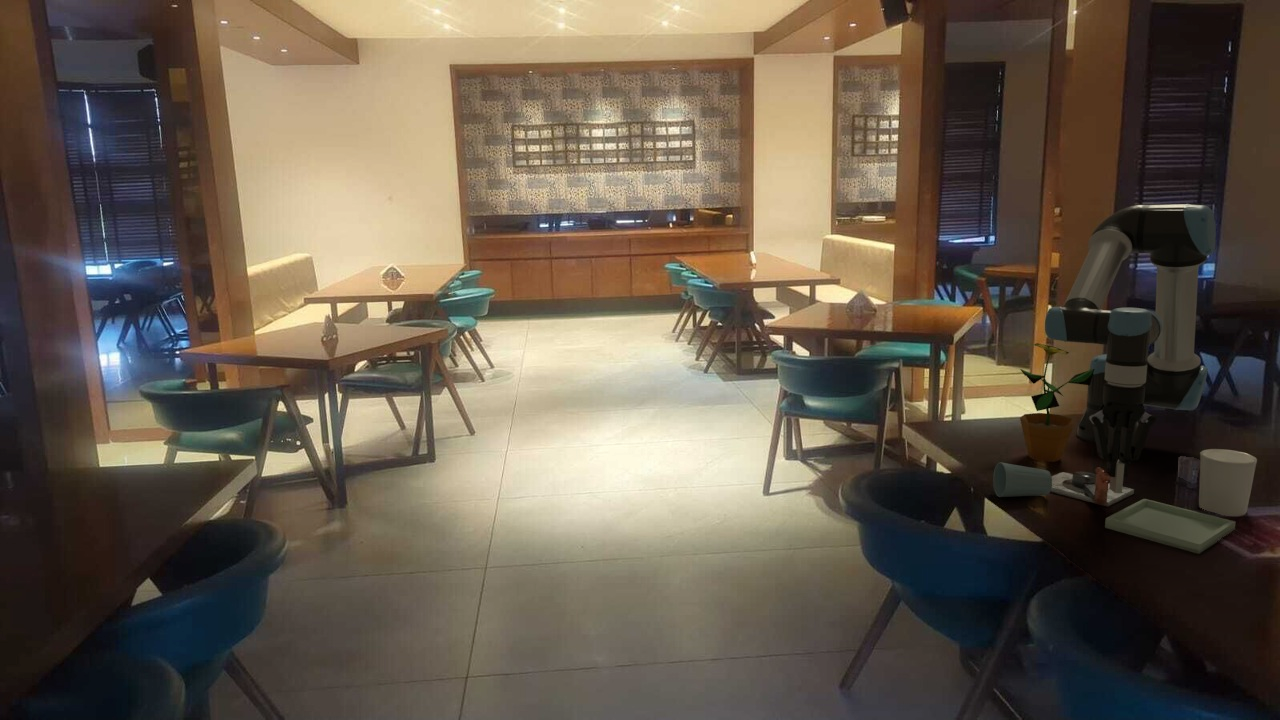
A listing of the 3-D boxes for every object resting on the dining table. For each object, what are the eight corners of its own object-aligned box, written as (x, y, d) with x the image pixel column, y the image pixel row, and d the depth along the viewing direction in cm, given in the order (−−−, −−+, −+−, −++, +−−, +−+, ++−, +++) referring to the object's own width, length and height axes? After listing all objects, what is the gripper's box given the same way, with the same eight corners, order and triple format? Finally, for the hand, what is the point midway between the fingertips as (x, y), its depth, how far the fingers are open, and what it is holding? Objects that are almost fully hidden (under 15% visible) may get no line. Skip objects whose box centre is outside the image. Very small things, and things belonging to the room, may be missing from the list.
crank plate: (1062, 476, 204) (1062, 471, 203) (1133, 494, 191) (1134, 488, 191) (1035, 488, 196) (1036, 482, 196) (1107, 507, 184) (1108, 501, 184)
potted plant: (1068, 474, 205) (1077, 351, 199) (992, 457, 219) (999, 341, 213) (1098, 457, 217) (1108, 340, 211) (1025, 442, 230) (1032, 332, 225)
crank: (1069, 481, 196) (1071, 451, 195) (1092, 482, 195) (1095, 451, 194) (1092, 507, 180) (1094, 474, 179) (1117, 508, 179) (1120, 475, 178)
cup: (1054, 501, 186) (1005, 497, 186) (1039, 499, 194) (992, 496, 194) (1054, 465, 187) (1006, 462, 187) (1039, 465, 194) (993, 462, 195)
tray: (1143, 508, 183) (1144, 498, 182) (1234, 532, 170) (1235, 521, 169) (1104, 528, 173) (1105, 518, 172) (1198, 555, 160) (1199, 544, 159)
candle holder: (1252, 522, 174) (1258, 465, 172) (1194, 513, 179) (1200, 459, 177) (1249, 506, 182) (1255, 452, 180) (1194, 499, 187) (1199, 446, 185)
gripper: (1148, 378, 181) (1139, 484, 185) (1084, 379, 182) (1076, 484, 187) (1166, 386, 173) (1156, 497, 178) (1099, 387, 174) (1091, 497, 179)
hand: (1115, 490), depth 182 cm, fingers closed
